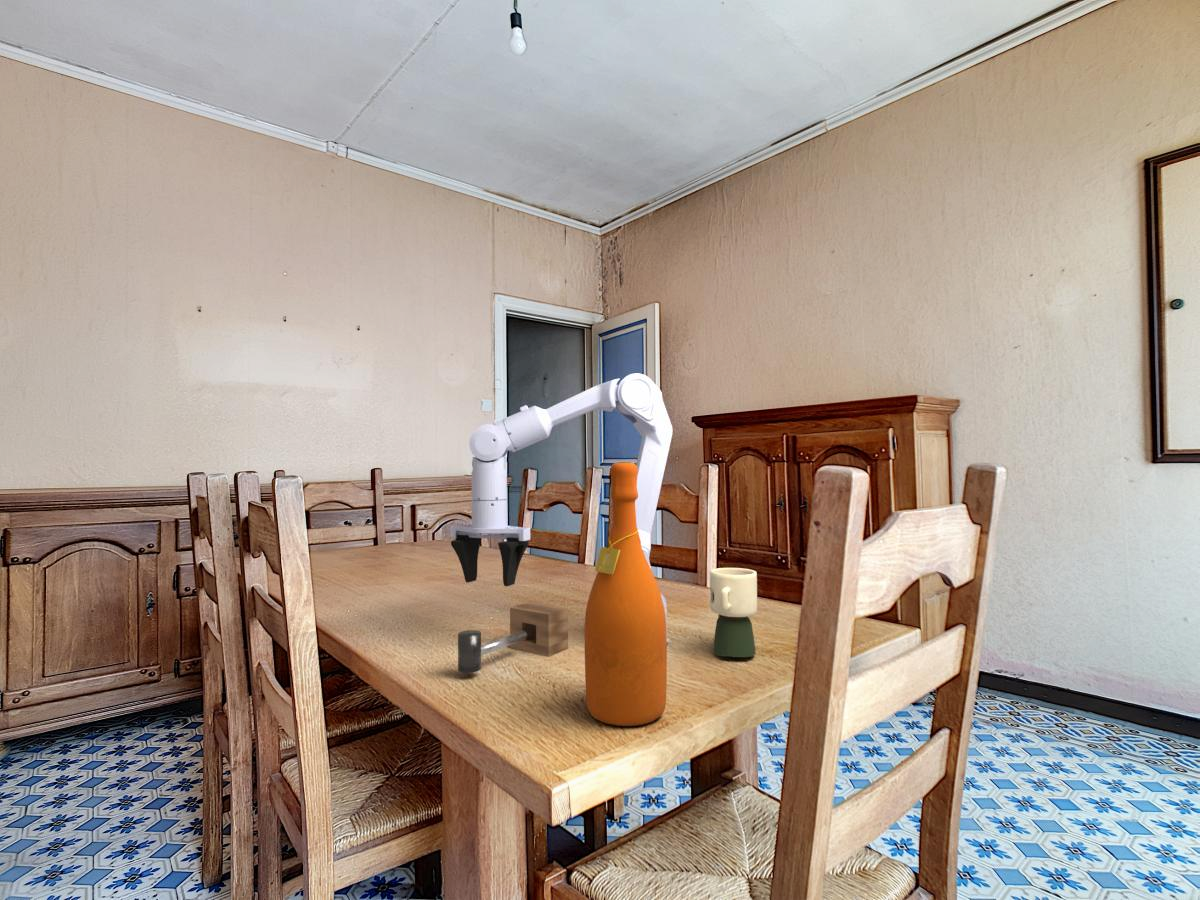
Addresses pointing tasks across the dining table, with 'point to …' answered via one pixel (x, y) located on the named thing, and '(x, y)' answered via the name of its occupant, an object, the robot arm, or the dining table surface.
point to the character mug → (733, 610)
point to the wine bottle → (625, 621)
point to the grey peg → (480, 648)
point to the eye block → (540, 628)
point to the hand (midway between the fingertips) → (489, 583)
